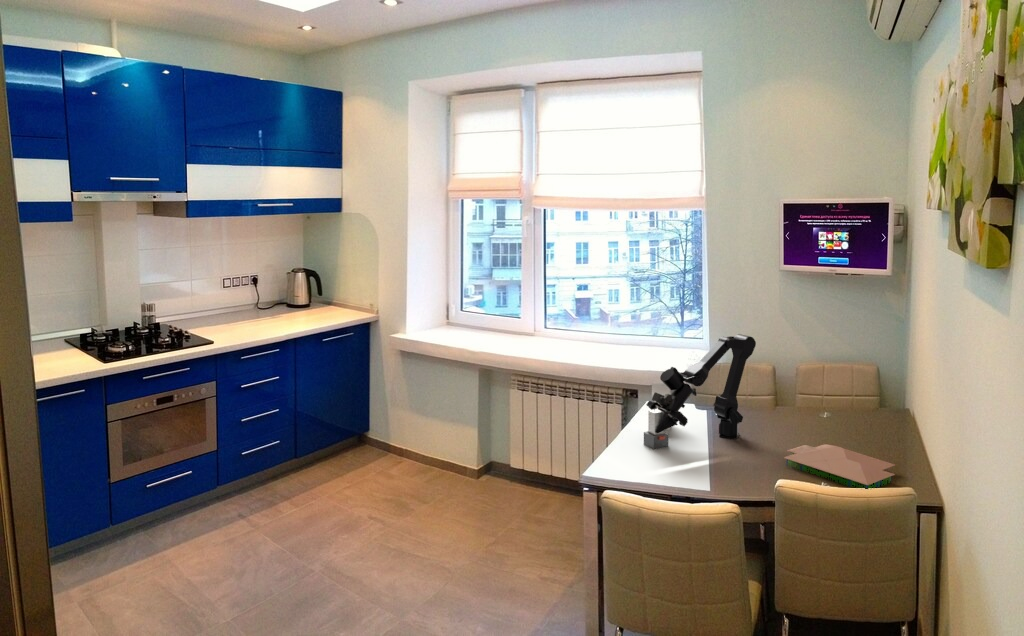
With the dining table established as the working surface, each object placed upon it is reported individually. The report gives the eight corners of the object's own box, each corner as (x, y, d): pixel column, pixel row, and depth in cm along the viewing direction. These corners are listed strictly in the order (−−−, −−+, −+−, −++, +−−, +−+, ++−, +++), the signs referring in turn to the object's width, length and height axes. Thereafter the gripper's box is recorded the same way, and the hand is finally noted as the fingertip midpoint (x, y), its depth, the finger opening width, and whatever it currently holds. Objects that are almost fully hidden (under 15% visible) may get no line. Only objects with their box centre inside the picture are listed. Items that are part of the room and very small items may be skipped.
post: (657, 443, 271) (657, 409, 269) (664, 446, 268) (664, 411, 266) (648, 444, 270) (648, 410, 268) (654, 448, 266) (654, 413, 264)
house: (817, 450, 264) (818, 429, 263) (908, 478, 237) (910, 454, 235) (776, 464, 252) (776, 441, 251) (867, 495, 224) (868, 469, 223)
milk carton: (670, 432, 287) (670, 385, 284) (651, 432, 288) (651, 385, 286) (669, 427, 294) (670, 381, 291) (651, 426, 295) (652, 380, 292)
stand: (659, 443, 276) (659, 427, 275) (675, 450, 266) (675, 435, 266) (636, 447, 272) (636, 431, 271) (652, 455, 263) (652, 439, 262)
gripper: (650, 379, 275) (625, 411, 273) (681, 390, 258) (654, 424, 256) (668, 396, 280) (643, 428, 277) (699, 408, 263) (673, 443, 260)
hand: (652, 431), depth 267 cm, fingers closed on post, 4 cm apart
